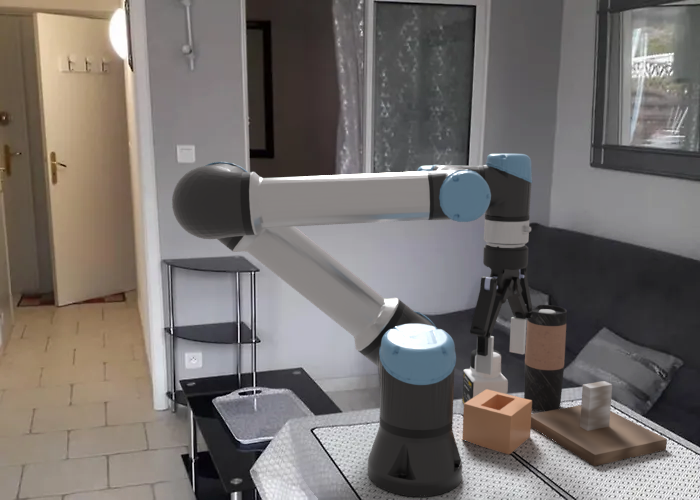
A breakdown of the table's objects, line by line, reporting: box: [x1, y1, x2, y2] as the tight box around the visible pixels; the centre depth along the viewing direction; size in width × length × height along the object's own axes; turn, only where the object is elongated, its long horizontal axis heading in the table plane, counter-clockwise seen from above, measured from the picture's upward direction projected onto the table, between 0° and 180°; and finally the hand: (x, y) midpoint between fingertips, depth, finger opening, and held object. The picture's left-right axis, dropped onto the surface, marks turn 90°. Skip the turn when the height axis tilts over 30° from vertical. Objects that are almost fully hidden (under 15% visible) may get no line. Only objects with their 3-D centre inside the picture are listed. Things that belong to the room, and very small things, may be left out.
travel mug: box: [523, 304, 568, 412], centre depth 141 cm, size 8×8×20 cm
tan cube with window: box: [461, 389, 533, 455], centre depth 126 cm, size 9×9×7 cm
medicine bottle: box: [461, 348, 509, 404], centre depth 140 cm, size 7×7×12 cm
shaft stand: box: [531, 380, 668, 467], centre depth 127 cm, size 16×18×10 cm
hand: (501, 362), depth 124 cm, fingers open, 13 cm apart
